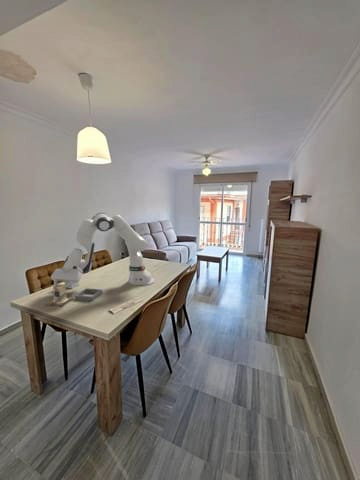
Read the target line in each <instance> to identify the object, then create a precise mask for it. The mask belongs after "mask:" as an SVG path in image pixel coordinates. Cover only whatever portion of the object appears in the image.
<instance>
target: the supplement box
mask: <svg viewBox="0 0 360 480" xmlns="http://www.w3.org/2000/svg"><path fill="white" fill-rule="evenodd" d="M63 282H64V285H65V286H67V284H69V283H70V282H66V281H63ZM79 282H80V281H79ZM79 282H73V284H72V285H71V286H70V287H69V288H67V287H66V289H74V288H76V287H78V286H79V285H80V283H79Z"/></svg>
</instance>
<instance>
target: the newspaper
mask: <svg viewBox="0 0 360 480" xmlns="http://www.w3.org/2000/svg"><path fill="white" fill-rule="evenodd" d="M140 301H141V302H143V301H144V299H143V298H142V297H135V298H133V299H131V300H129V301H126V302H124V303H122V304H119V305H117V306H115V307H113V308H110V309H109V310H108V312H112V313H113V315H116V314H118V313H119V311H120V312H121V310H122V311H124V310H126V309H129V308H131V307H133V306H134V304H135V305H136V303H137V304H139V303H140ZM138 302H139V303H138ZM117 312H118V313H117ZM115 313H116V314H115Z"/></svg>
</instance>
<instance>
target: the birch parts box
mask: <svg viewBox="0 0 360 480" xmlns="http://www.w3.org/2000/svg"><path fill="white" fill-rule="evenodd" d="M52 289H53V299H54V302H62V301H64V300H65V299H66V297H67V288H66V286H65V284H58V285H57V286H55V287H54V286H53V287H52Z"/></svg>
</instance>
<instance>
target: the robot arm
mask: <svg viewBox="0 0 360 480" xmlns="http://www.w3.org/2000/svg"><path fill="white" fill-rule="evenodd" d="M77 229H78V230H77V232H76V234H75V238H76V241H77V242H78V244H80V245H81V246H82V247H84V248H85V249H86V251H87V254H86V259H84V258H83V256H84V254H85V253H84V251H83V250H82V249H79V248H76V247H75V248H73V249H72V250H71V252H70V253H69V254H68V256H66V258H65V260H64V265H63V266H62V267H58V268H55V270H54V271H53V273H52V274H51V276H50V280H52V281H53V285H52V286H53V287H55V286H57V285H59V284H57V283H58V282H64V281H66V282H70V283H69V284H67V286H66V287H67V288H66V289H70V288H69V287H70V286H71V285H72V284H73V282H80V281H81V279H82V275H83V274H88V273H89V272H90V271H91V269H92V261H93V257H94V253H95V251H94V250H95V245H96V244H95V242H94V240H93V238H94V235H95V232H96V231H97V230H98V231H100V232H107V231H109V230H111V229H113V230H114V231H115V232H116V233H117V234H118V235H119V236H120V237H121V238H122V239H123V240H124V242H125V245H126V247H127V252H128V256H129V265H128V270H129V271H128V272H129V275H128V280H127V281H128V283H129V284H130V285H133V286H136V285H137V286H138V285H140V286H145V285H146V286H148V285H149V286H150V285H152V284H153V283H154V281H155V278H154V277H152V274H151V272H150V271H148V270H147V269H146V265H144V264H143V263H144V262H143V261H144V258H143V254H142V252H144V251H146V250H147V248H148V241H147V240H146V239H144V238H143V237H142V236H141V235H140V233H138V232H136V231H135V230H134V229H133V227H132V226H131V225H130V223H128V221H127V220H125V218H123V217H122V215H120V214H114V215H112V216H109V215H107V214H106V213H104V212H97V214H96V215H94V216H92V218H91V219H90V218H85V219H84V220H82V222H81V223H80V225H79V227H78V228H77Z"/></svg>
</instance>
